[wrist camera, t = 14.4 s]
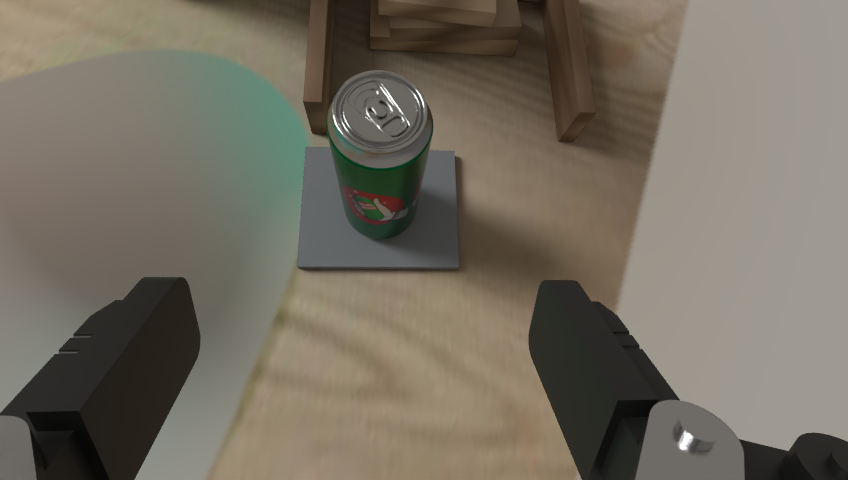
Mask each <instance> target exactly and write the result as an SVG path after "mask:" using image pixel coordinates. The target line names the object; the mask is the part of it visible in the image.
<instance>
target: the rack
mask: <svg viewBox="0 0 848 480" xmlns="http://www.w3.org/2000/svg"><path fill="white" fill-rule="evenodd" d="M517 1H528V2H541V8H542V16H543V24H544V32H545V40H546V48H547V56H548V64H549V72H550V80H551V88H552V96H553V104H554V112H555V120H556V128H557V136H558V141H566V142H573V141H574V139H575V138H576V137H577V136H578V135H579V133H580V132H581V131H582V130H583V128H584V127H585V126H586V125H587V123H588V122H589V121H590V120H591V118H592V117H593V116H594V115H595V113H596V110H595V103H594V97H593V91H592V84H591V78H590V72H589V65H588V59H587V53H586V46H585V40H584V33H583V27H582V21H581V14H580V8H579V2H578V0H517ZM335 2H336V0H311V5H310V18H309V31H308V44H307V58H306V71H305V84H304V97H303V103H304V106H305V110H306V113H307V117H308V120H309V124H310V127H311V131H312V133H319V134H327V129H326V117H327V113H328V109H329V107H330V94H331V76H332V58H333V39H334V21H335Z"/></svg>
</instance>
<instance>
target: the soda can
mask: <svg viewBox="0 0 848 480" xmlns="http://www.w3.org/2000/svg"><path fill="white" fill-rule="evenodd" d="M326 129H327V135H328V139H329V144H330V148H331V153H332V157H333V162H334V166H335V170H336V175H337V179H338V184H339V188H340V193H341V197H342V202H343V206H344V211H345V214H346V217H347V219H348V221H349V223H350V224H351V226H352V227H353V228H354V229H355V230H356V231H358V232H359V233H361V234H363V235H365V236H367V237H370V238H375V239H387V238H391V237H395V236H397V235H399V234H401V233H402V232H404V231H405V230H406V229H407V228H408V227H409V226H410V224H411V223H412V222H413V220H414V218H415V215H416V211H417V206H418V201H419V196H420V192H421V187H422V182H423V177H424V172H425V167H426V163H427V158H428V153H429V148H430V143H431V139H432V133H433V119H432V114H431V111H430V109H429V106H428V105H427V103H426V101H425V98H424V96H423V94H422V93H421V91H420V89H419V88H418V87H417V86H416V85H415V84H414V83H413V82H412V81H411V80H409V79H408V78H406V77H404V76H402V75H400V74H398V73H395V72H392V71H386V70H370V71H365V72H362V73H359V74H356V75H354V76H353V77H351V78H349V79H348V80H347V81H345V82H344V83H343V84H342V85H341V86H340V88H339V89H338V91H337V92H336V95H335V97H334V99H333V101H332V103H331V105H330V107H329V109H328V113H327V117H326Z"/></svg>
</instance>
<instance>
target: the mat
mask: <svg viewBox="0 0 848 480" xmlns="http://www.w3.org/2000/svg"><path fill="white" fill-rule="evenodd" d="M297 267H298V268H299V269H459V244H458V222H457V199H456V176H455V153H454V151H430V150H429V153H428V158H427V163H426V167H425V172H424V177H423V182H422V187H421V192H420V196H419V201H418V206H417V211H416V215H415V218H414V220H413V222H412V223H411V224H410V226H409V227H408V228H407V229H406V230H405V231H404V232H402V233H401V234H399V235H397V236H395V237H391V238H387V239H375V238H370V237H367V236H365V235H363V234H361V233H359V232H358V231H356V230H355V229H354V228H353V227H352V226H351V224H350V223H349V221H348V219H347V217H346V214H345V211H344V206H343V202H342V197H341V193H340V188H339V184H338V179H337V175H336V170H335V166H334V162H333V157H332V153H331V148H328V147H306V148H305V163H304V176H303V190H302V204H301V218H300V232H299V246H298V260H297Z"/></svg>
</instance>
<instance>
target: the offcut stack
mask: <svg viewBox="0 0 848 480" xmlns="http://www.w3.org/2000/svg"><path fill="white" fill-rule="evenodd" d="M521 28H522V23H521V18H520V13H519V9H518V4H517V0H371V6H370V49H380V50H400V51H419V52H439V53H459V54H479V55H499V56H514V53H515V51H516V49H517V46H518V36H519V33H520V31H521Z"/></svg>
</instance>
